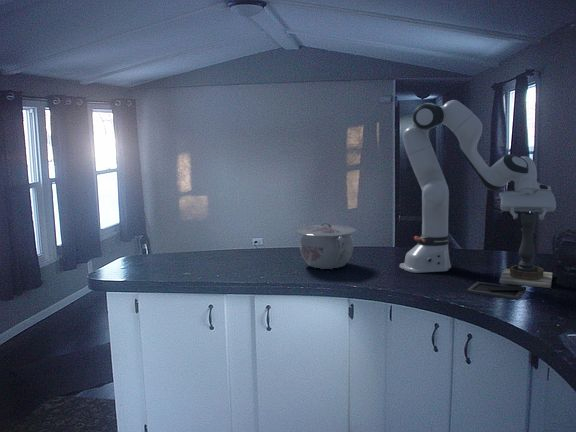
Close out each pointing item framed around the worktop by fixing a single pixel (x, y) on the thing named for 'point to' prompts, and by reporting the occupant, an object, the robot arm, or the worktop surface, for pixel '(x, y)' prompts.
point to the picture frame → (497, 290)
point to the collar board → (526, 277)
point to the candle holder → (527, 242)
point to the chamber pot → (326, 245)
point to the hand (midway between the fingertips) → (528, 218)
